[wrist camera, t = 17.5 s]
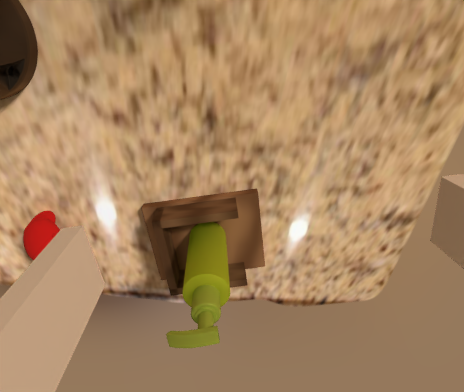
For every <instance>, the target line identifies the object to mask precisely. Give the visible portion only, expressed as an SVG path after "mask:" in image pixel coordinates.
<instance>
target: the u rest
mask: <svg viewBox="0 0 464 392" xmlns="http://www.w3.org/2000/svg"><path fill="white" fill-rule="evenodd" d="M142 212H143V215H144V219H145V222H146V226H147V230H148V233H149V237H150V241H151V244H152V248H153V252H154V255H155V259H156V262H157V266H158V270H159V273H160V277H161V280H167V282H168V286H169V290H170V293H171V295H179V294H183V285H184V277H185V269H186V261H187V253H188V245H189V237H190V232H191V230H192V229H193V227H194V226H196V225H197V224H199V223H206V222H215V223H217V224H219V225H220V226H221V227H222V228H223V229H224V231H225V234H226V244H227V257H228V270H229V283H230V287H238V286H245V285H247V279H246V272H245V269H248V268H255V267H263V266H265V261H264V251H263V240H262V230H261V219H260V209H259V198H258V191H257V189H251V190H244V191H236V192H229V193H221V194H214V195H207V196H199V197H192V198H184V199H177V200H170V201H162V202H155V203H147V204H143V206H142Z"/></svg>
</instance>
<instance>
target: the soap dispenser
mask: <svg viewBox="0 0 464 392" xmlns="http://www.w3.org/2000/svg"><path fill="white" fill-rule="evenodd" d="M229 296H230V283H229V270H228V257H227V244H226V234H225V231H224V229H223V228H222V227H221V226H220V225H219V224H217V223H215V222H206V223H199V224H197V225H196V226H194V227H193V229H192V230H191V232H190V237H189V245H188V253H187V261H186V269H185V277H184V285H183V298H184V300H185V302H186V303H187V304H188V305H189V306H191V307H192V308H191V317H192V319H193V320H194V321H195V322H196V323H197V324H198V329H196V330H189V331H170V332H168V333H167V334H166V335H167V339H168V343H169V346H170V347H175V348H195V347H201V346H207V345H212V344H217V343H219V333H218V328H217V326H214V327H213V324H214V323H216V322H217V321H218V320H219V318H220V315H221V306H223V305H224V304H225V303H226V302H227V301H228V299H229Z"/></svg>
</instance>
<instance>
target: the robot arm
mask: <svg viewBox="0 0 464 392" xmlns="http://www.w3.org/2000/svg"><path fill="white" fill-rule="evenodd" d="M37 56H38V49H37V41H36V36H35V32H34V29H33V26H32V23H31V21H30V19H29V17H28V15H27V13H26V11H25V9H24V8H23V6H22V5H21V3H20V2H19V1H18V0H0V99H4V98H8V97H11V96H13V95H15V94H17V93H18V92H20V91H21V90H22V89H23V88H24V87H25V86H26V85H27V84H28V83H29V81H30V80H31V78H32V76H33V74H34V71H35V68H36V64H37ZM430 241H431V242H433V243H434V244H435V245H436V246H437V247H439V248H440V249H441V250H442V251H443V252H445V254H447V255H448V256H449V257H450V258H451V259H453V260H454V261H455V262H456V263H457V264H459V265H460V266H461V267H462V268H463V269H464V175H463V174H459V175H451V176H444V177H441V182H440V188H439V194H438V199H437V205H436V211H435V217H434V223H433V228H432V235H431V240H430ZM104 286H105V283H104V280H103V277H102V275H101V272H100V269H99V267H98V264H97V261H96V259H95V256H94V253H93V251H92V248H91V245H90V243H89V240H88V237H87V235H86V232H85V229H84V226H83V225H81V226H74V227H67V228H62V229H61V230H60V231H59V232H58V233H57V235H56V236H55V237H54V238H53V239H52V240H51V241H50V243H49V244H48V245H47V246H46V247H45V248H44V249H43V251H42V252H41V253H40V254H39V255H38V256H37V257H36V259H35V260H34V261H33V262H32V263H31V264H30V265H29V267H28V268H27V269H26V270H25V271H24V272H23V273H22V274H21V276H20V277H19V278H18V279H17V280H16V281H15V282H14V284H13V285H12V286H11V287H10V288H9V289H8V291H7V292H6V293H5V294H4V295H3V297H1V299H0V392H55V390H56V388H57V386H58V384H59V382H60V380H61V378H62V376H63V373H64V371H65V369H66V367H67V365H68V363H69V361H70V359H71V356H72V354H73V352H74V350H75V348H76V346H77V343H78V342H79V339H80V337H81V335H82V333H83V331H84V329H85V327H86V325H87V322H88V320H89V318H90V316H91V314H92V312H93V310H94V308H95V305H96V303H97V301H98V299H99V297H100V295H101V293H102V291H103V288H104Z"/></svg>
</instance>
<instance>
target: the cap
mask: <svg viewBox="0 0 464 392" xmlns="http://www.w3.org/2000/svg"><path fill="white" fill-rule="evenodd" d="M59 231H60V230H59V228H58V227H57V225H56V224H55V215H54V213H53V212H51V211H43V212H41V213H39V214H38V215H36V216H35V217H34V218H33V219H32V220H31V222H30V223H29V224H28V226H27V227H26V228H25V230H24V237H23V241H24V247H25V250H26V252H27V254H28V255H29V256H30V258H31V259H32V260H35V259H36V257H37V256H38V255H39V254H40V253H41V252H42V251H43V249H44V248H45V247H46V246H47V245H48V244H49V243H50V241H51V240H52V239H53V238H54V237H55V236H56V235H57V233H58V232H59Z"/></svg>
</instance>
